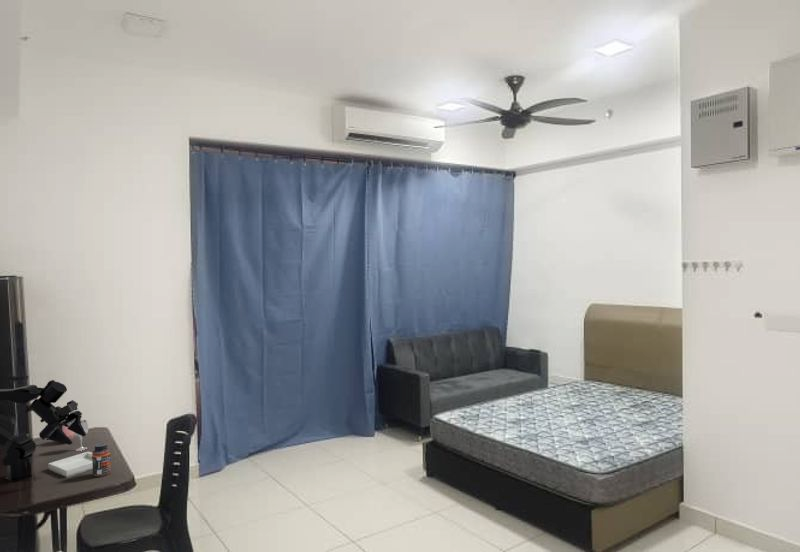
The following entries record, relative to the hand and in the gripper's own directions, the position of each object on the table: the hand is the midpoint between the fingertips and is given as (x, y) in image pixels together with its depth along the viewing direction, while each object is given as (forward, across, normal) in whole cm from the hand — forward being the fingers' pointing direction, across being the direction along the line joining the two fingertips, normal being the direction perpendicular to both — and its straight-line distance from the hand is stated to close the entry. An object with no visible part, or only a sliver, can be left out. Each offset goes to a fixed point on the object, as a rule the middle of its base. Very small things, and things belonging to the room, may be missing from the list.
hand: (78, 439), depth 203 cm
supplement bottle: (+16, 0, +4) cm, 16 cm away
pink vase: (-11, +41, +30) cm, 52 cm away
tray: (+6, +9, +13) cm, 17 cm away
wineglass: (-2, +30, +21) cm, 36 cm away
